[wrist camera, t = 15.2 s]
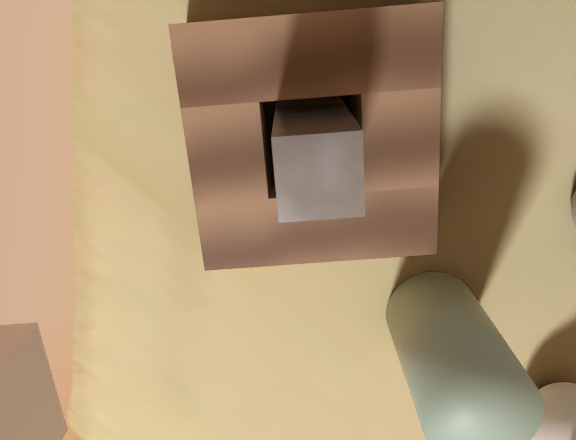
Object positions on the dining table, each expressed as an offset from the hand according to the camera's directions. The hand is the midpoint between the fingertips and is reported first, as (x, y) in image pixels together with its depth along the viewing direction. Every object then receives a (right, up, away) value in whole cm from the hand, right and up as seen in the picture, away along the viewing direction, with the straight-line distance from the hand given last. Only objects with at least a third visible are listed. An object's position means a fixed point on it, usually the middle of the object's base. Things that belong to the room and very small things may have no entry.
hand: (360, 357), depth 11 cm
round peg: (+9, -4, +28) cm, 29 cm away
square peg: (0, +9, +23) cm, 24 cm away
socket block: (0, +9, +23) cm, 24 cm away
